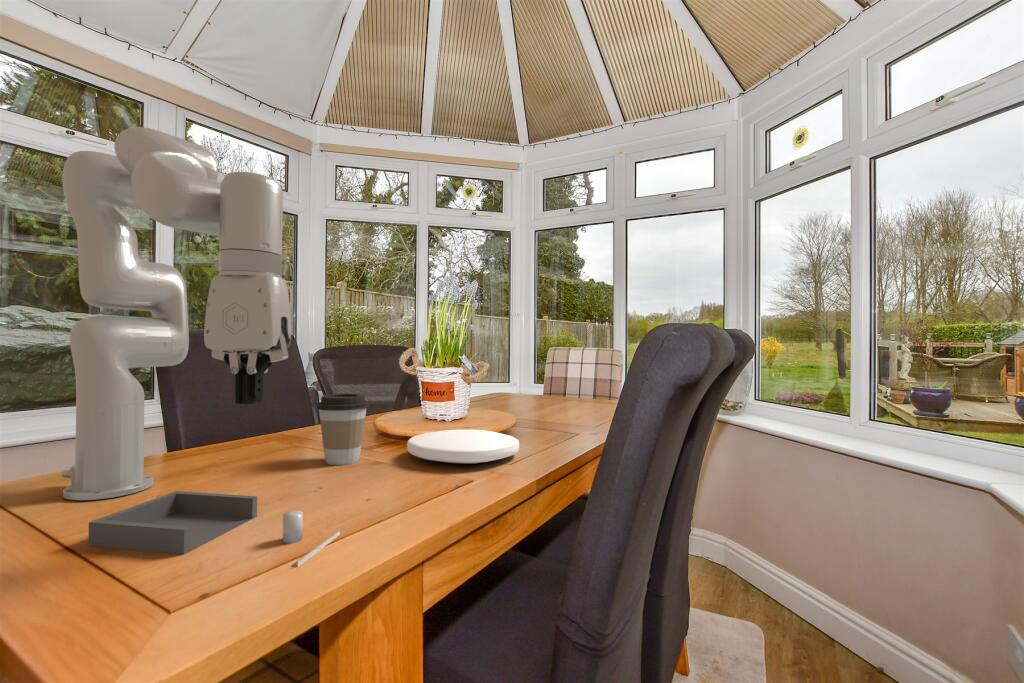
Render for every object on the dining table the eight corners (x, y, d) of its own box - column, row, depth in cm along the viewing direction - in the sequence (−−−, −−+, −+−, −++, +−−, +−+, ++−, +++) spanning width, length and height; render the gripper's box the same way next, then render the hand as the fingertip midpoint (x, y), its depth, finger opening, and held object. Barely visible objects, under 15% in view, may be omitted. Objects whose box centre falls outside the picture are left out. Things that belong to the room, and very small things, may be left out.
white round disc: (433, 425, 132) (528, 430, 127) (431, 449, 132) (527, 455, 126) (387, 432, 105) (506, 439, 100) (385, 462, 104) (504, 471, 99)
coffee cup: (373, 455, 116) (374, 393, 116) (360, 467, 105) (361, 398, 105) (325, 455, 115) (326, 393, 115) (307, 467, 104) (308, 398, 104)
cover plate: (209, 563, 60) (210, 523, 60) (263, 532, 70) (263, 498, 70) (297, 571, 58) (298, 530, 58) (339, 538, 68) (340, 503, 68)
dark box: (88, 553, 61) (88, 522, 61) (176, 516, 74) (176, 491, 74) (183, 562, 59) (184, 529, 59) (256, 523, 72) (257, 496, 72)
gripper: (179, 264, 63) (177, 404, 63) (284, 262, 60) (282, 408, 60) (222, 272, 70) (220, 398, 70) (317, 271, 68) (315, 401, 68)
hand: (249, 402), depth 65 cm, fingers closed
